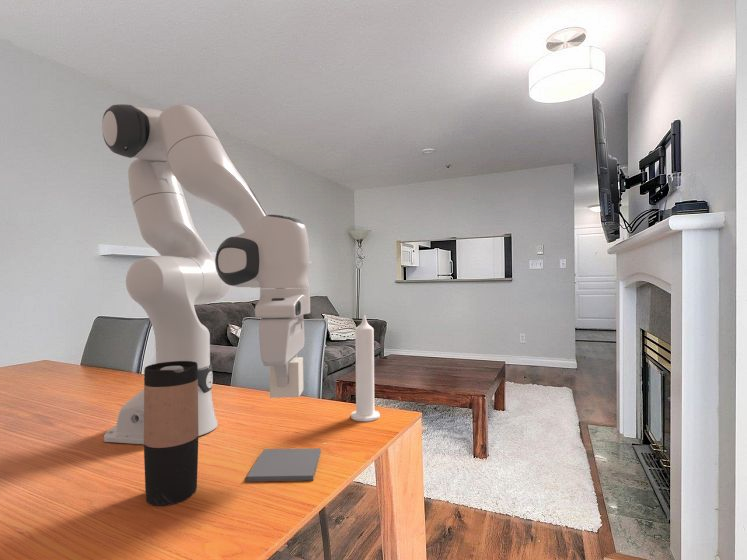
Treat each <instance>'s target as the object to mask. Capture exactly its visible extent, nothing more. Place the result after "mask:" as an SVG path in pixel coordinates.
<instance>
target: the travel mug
mask: <svg viewBox="0 0 747 560" xmlns="http://www.w3.org/2000/svg"><path fill="white" fill-rule="evenodd" d="M143 377H144V378H143V381H144V382H143V389H144V444H143V457H144V458H143V459H144V461H143V462H144V464H143V465H144V487H145V489H144V490H145V501H146V503H147V504H148V505H150V506H155V507H165V506H171V505H175V504H178V503H181V502H184V501H186V500H188V499H190V498H191V497H192V496H193V495H195V494H196V491H197V488H198V463H199V436H198V434H199V431H198V365H197V363H196V362H193V361H172V362H163V363H157V364H156V363H153V364H149V365H147V366H145V367H144V371H143Z"/></svg>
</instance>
